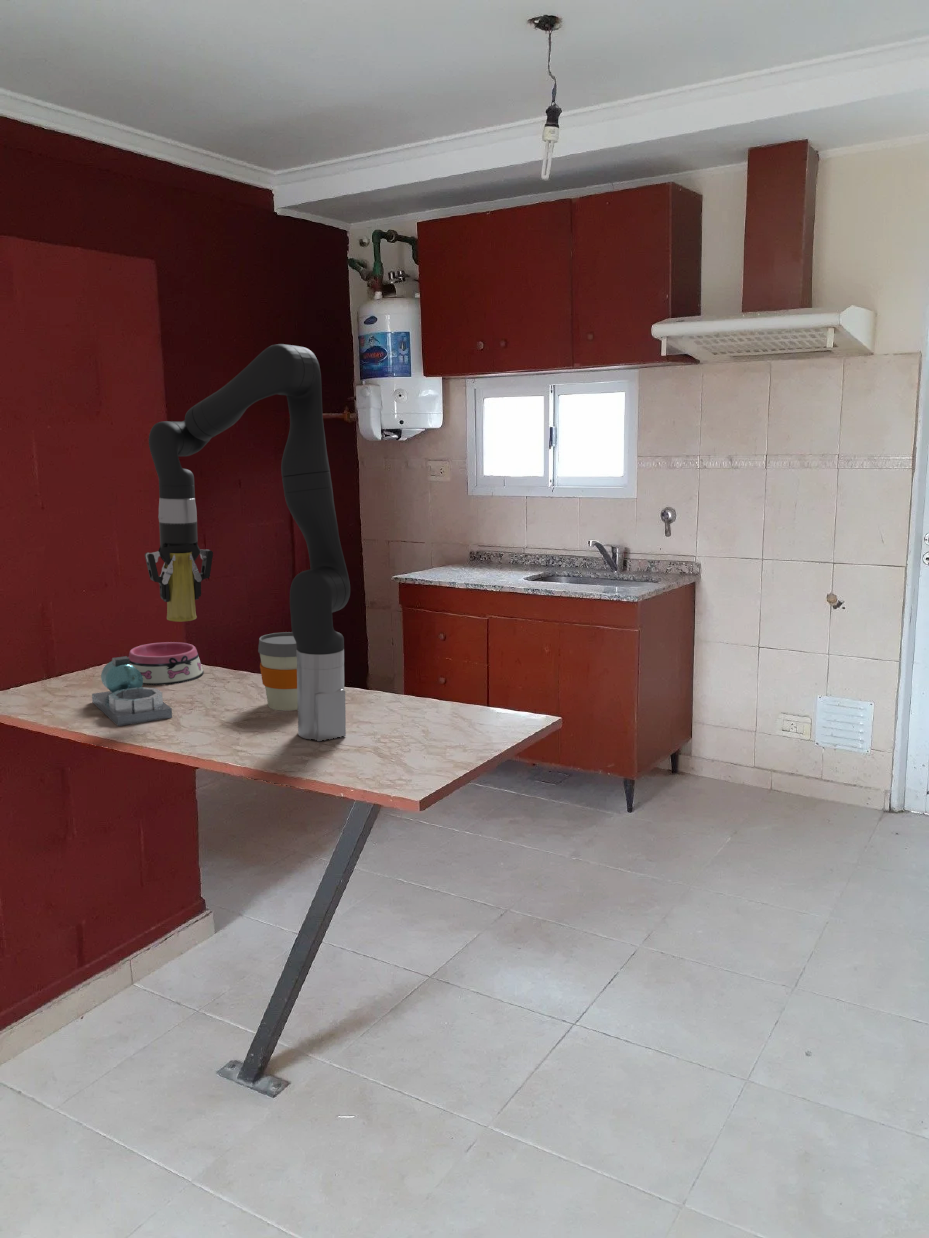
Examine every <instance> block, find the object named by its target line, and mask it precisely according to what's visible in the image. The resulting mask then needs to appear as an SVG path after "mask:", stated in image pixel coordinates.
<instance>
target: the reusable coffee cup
mask: <svg viewBox="0 0 929 1238" xmlns="http://www.w3.org/2000/svg"><path fill="white" fill-rule="evenodd" d="M257 650H258V651H257V652H258V654H259V657H260V663H259V669H260V676H261V680H262V685H263V686H264V688H265V696H266V700H267V706H268V708H270V709H271V710H274V711H284V712H285V711H298V705H297V651H296V650H297V649H296V641H295V639H294V636H293V633H292V631H291V632H290V631H288V632H287V631H285V632H284V631H283V632H273V633H269V634H264V635H261V636H260V637H259V639H258V649H257Z"/></svg>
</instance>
